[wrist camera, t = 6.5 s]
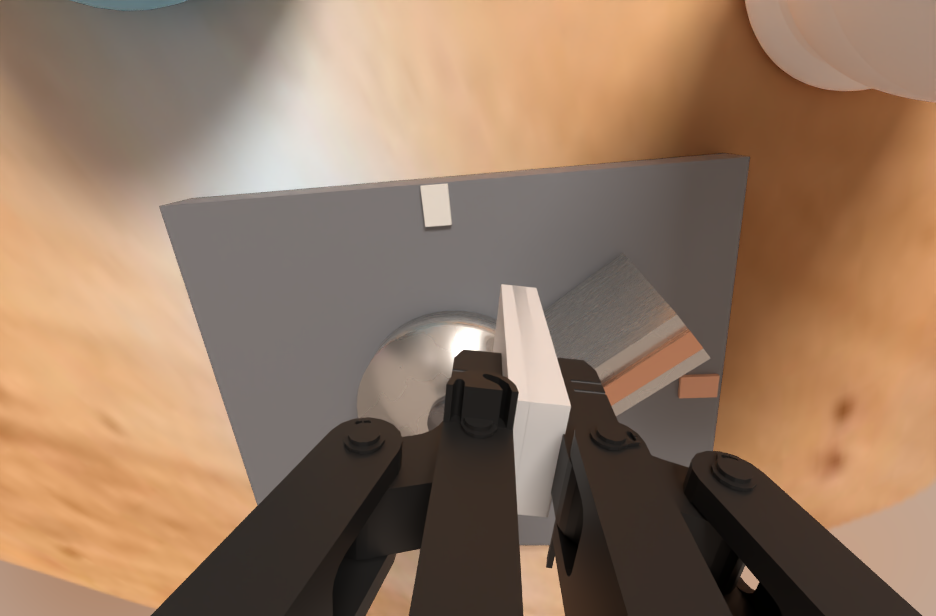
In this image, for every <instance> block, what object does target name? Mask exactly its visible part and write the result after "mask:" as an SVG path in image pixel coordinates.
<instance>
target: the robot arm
mask: <svg viewBox="0 0 936 616" xmlns="http://www.w3.org/2000/svg"><path fill="white" fill-rule="evenodd" d="M551 500H552V501H553V507H554V512H555V518H556V519H555V523H554V528H553V533H552V537H551V542H550V546H549V551H548V556H547V565H546V568H552V565H553V561H554V557H555V558H556V563H557V569H558V575H559V581H560V587H561V593H562V599H563V605H564V611H565V616H922V615H921V614H920V613H919V612H918V611H916V610H915V609H914V608H913V607H912V606H911V605H910V604H909V603H908V602H907V601H905V600H904V599H903V598H902V597H901V596H900V595H899V594H898V593H896V592H895V591H894V590H893V589H892V588H891V587H890V586H888V584H887V583H885V582H884V581H883V580H882V579H881V578H880V577H879V576H877V574H875V573H874V572H873V571H872V570H871V569H870V568H869V567H868V566H866V565H865V564H864V563H863V562H862V561H861V560H860V559H859V558H858V557H856V556H855V555H854V554H853V553H852V552H851V551H850V550H849V549H848V548H846V547H845V546H844V545H843V544H842V543H841V542H840V541H839V540H838V539H837V538H835V537H834V536H833V535H832V534H831V533H830V532H829V531H828V530H827V529H825V528H824V527H823V526H822V525H821V524H820V523H819V522H818V521H817V520H815V519H814V518H813V517H812V516H811V515H810V514H809V513H808V512H807V511H805V510H804V509H803V508H802V507H801V506H800V505H799V504H798V503H797V502H795V501H794V500H793V499H792V498H791V497H790V496H789V495H788V494H787V493H785V492H784V491H783V490H782V489H781V488H780V487H779V486H778V485H777V484H775V483H774V482H773V481H772V480H771V479H770V478H769V477H768V476H767V475H765V474H764V473H763V472H762V471H760V470H759V469H758V468H756V467H755V466H753V465H752V464H751V463H749V462H747V461H745V460H743V459H740V458H739V457H737V456H734V455H731V454H728V453H723V452H718V451H704V452H700V453H697V454H696V455H695V456H694V457H693V458H692V460H691V463H690V466H689V467H686V466H682V465H679V464H676V463H673V462H669V461H666V460H663V459H660V458H658V457H655V456H652V455H651V453H650V451H649V449H648V447H647V445H646V443H645V442H644V440H643V439H642V438H641V437H640V435H639V434H638V433H637V432H635V431H634V430H632V429H631V428H629V427H628V426H626V425H624V424H621V423H619V422H618V420H617V418H616V415H615V413H614V411H613V408H612V406H611V404H610V402H609V399H608V397H607V395H606V394H605V390H604V388H603V385H601V381H600V379H599V376H598V374H597V372H596V370H595V369H593V368H592V367H591V366H590V365H589V364H588V363H587V362H585V361H584V360H577V359H567V358H557V357H556V353H555V350H554V346H553V343H552V339H551V336H550V333H549V329H548V326H547V322H546V319H545V316H544V312H543V309H542V305H541V302H540V299H539V295H538V292H537V288H533V287H524V286H514V285H504V284H501V290H500V298H499V306H498V314H497V322H496V330H495V338H494V346H493V352H486V351H476V350H466V349H463V350H462V351H461V352H460V353H459V354H458V355H457V356H455V357H454V362H453V369H452V375H451V377H450V379H449V381H448V382H447V384H446V395H445V406H444V417H443V421H442V422H441V423H440V425H439V426H437V427H436V428H434V429H433V430H430V431H428V432H425V433H422V434H418V435H412V436H404V437H402V436H401V432H400V431H399V430H398V429H397V428H396V427H395V426H394V425H393V424H392V423H389V422H387V421H385V420H382V419H377V418H370V417H366V418H356V419H352V420H349V421H346V422H343V423H341V424H339V425H338V426H336V427H335V428H334V429H332V430H331V431H330V432H329V433H328V434H327V435H326V436H325V437H324V438H323V439H322V440H321V441H320V442H319V443H318V444H317V445H316V446H315V447H314V448H313V449H312V450H311V451H310V452H309V453H308V454H307V455H306V456H305V457H304V459H303V460H302V461H301V462H300V463H299V464H298V465H297V466H296V467H295V468H294V469H293V470H292V471H291V472H290V473H289V474H288V475H287V476H286V477H285V478H284V479H283V480H282V481H281V482H280V483H279V484H278V485H277V486H276V487H275V488H274V489H273V490H272V491H271V492H270V493H269V495H268V496H267V497H266V498H265V499H264V500H263V501H262V502H261V503H260V504H259V505H258V506H257V507H256V508H255V509H254V510H253V511H252V512H251V513H250V514H249V515H248V516H247V517H246V518H245V519H244V520H243V521H242V522H241V523H240V524H239V525H238V526H237V527H236V528H235V529H234V531H233V532H232V533H231V534H230V535H229V536H228V537H227V538H226V539H225V540H224V541H223V542H222V543H221V544H220V545H219V546H218V547H217V548H216V549H215V550H214V551H213V552H212V553H211V554H210V555H209V556H208V557H207V558H206V559H205V560H204V561H203V562H202V563H201V564H200V565H199V567H198V568H197V569H196V570H195V571H194V572H193V573H192V574H191V575H190V576H189V577H188V578H187V579H186V580H185V581H184V582H183V583H182V584H181V585H180V586H179V587H178V588H177V589H176V590H175V591H174V592H173V593H172V594H171V595H170V596H169V597H168V598H167V599H166V600H165V601H164V603H163V604H162V605H161V606H160V607H159V608H158V609H157V610H156V611H155V612H154V613H153V614H152V615H151V616H366V614H367V612H368V610H369V608H370V606H371V604H372V602H373V600H374V598H375V597H376V595H377V593H378V591H379V589H380V587H381V585H382V583H383V581H384V579H385V578H386V576H387V574H388V572H389V570H390V568H391V566H392V564H393V562H394V560H395V556H396V553H401V552H406V551H411V550H416V549H421V550H420V556H419V561H418V567H417V573H416V578H415V584H414V590H413V595H412V601H411V607H410V612H409V616H523V602H522V584H521V566H520V548H519V530H518V515H528V516H538V517H548V514H549V510H550V505H551ZM745 565H746V566H747V568H748V569H749V570H750V571H751V572H752V573H753V575H754V576H755V577H756V578H757V579H758V580H759V584H758V586H757V589H756V590H753V589H751V588H750V587H749V586H748V585H747V584H746V583H745V582H744V581H743V579H742V578H741V577H740V576H741V574H742V572H743V569H744V567H745Z"/></svg>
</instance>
